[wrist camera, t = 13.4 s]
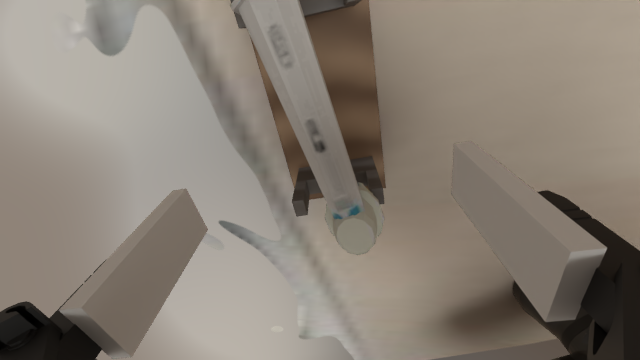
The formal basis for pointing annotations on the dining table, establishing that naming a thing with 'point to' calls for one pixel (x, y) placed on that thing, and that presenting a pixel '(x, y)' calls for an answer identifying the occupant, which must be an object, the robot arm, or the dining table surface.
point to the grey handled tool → (312, 117)
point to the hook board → (336, 95)
